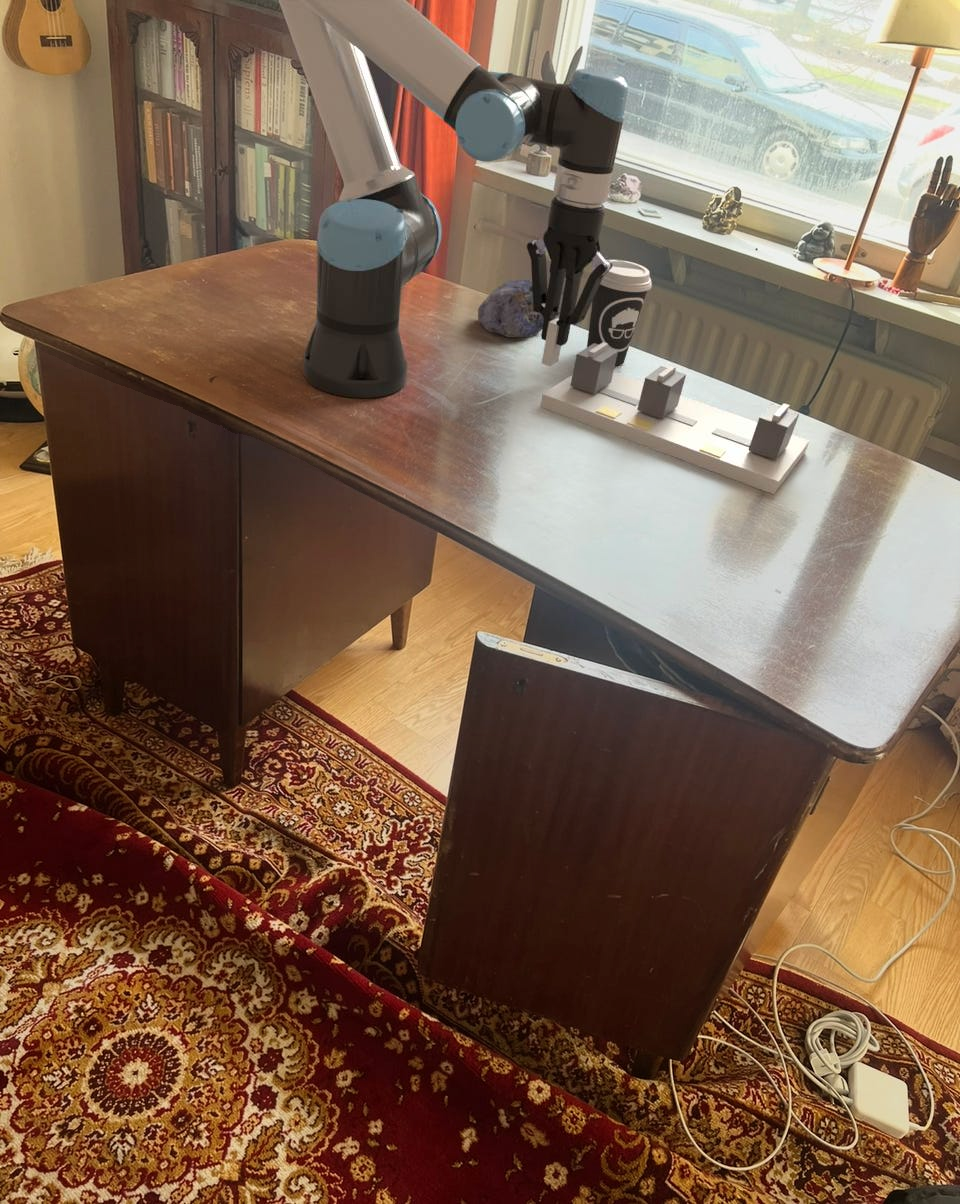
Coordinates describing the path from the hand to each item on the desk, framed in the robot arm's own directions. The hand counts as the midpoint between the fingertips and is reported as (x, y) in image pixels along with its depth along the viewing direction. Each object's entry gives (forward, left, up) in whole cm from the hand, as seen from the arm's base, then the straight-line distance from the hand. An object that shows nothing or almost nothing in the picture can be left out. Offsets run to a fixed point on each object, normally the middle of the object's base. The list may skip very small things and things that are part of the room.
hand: (549, 362), depth 141 cm
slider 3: (+35, 0, -1) cm, 35 cm away
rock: (-16, +15, -4) cm, 22 cm away
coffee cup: (+2, +17, -4) cm, 18 cm away
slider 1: (+7, 0, -1) cm, 7 cm away
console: (+21, 0, -4) cm, 22 cm away
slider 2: (+18, 0, -1) cm, 18 cm away
